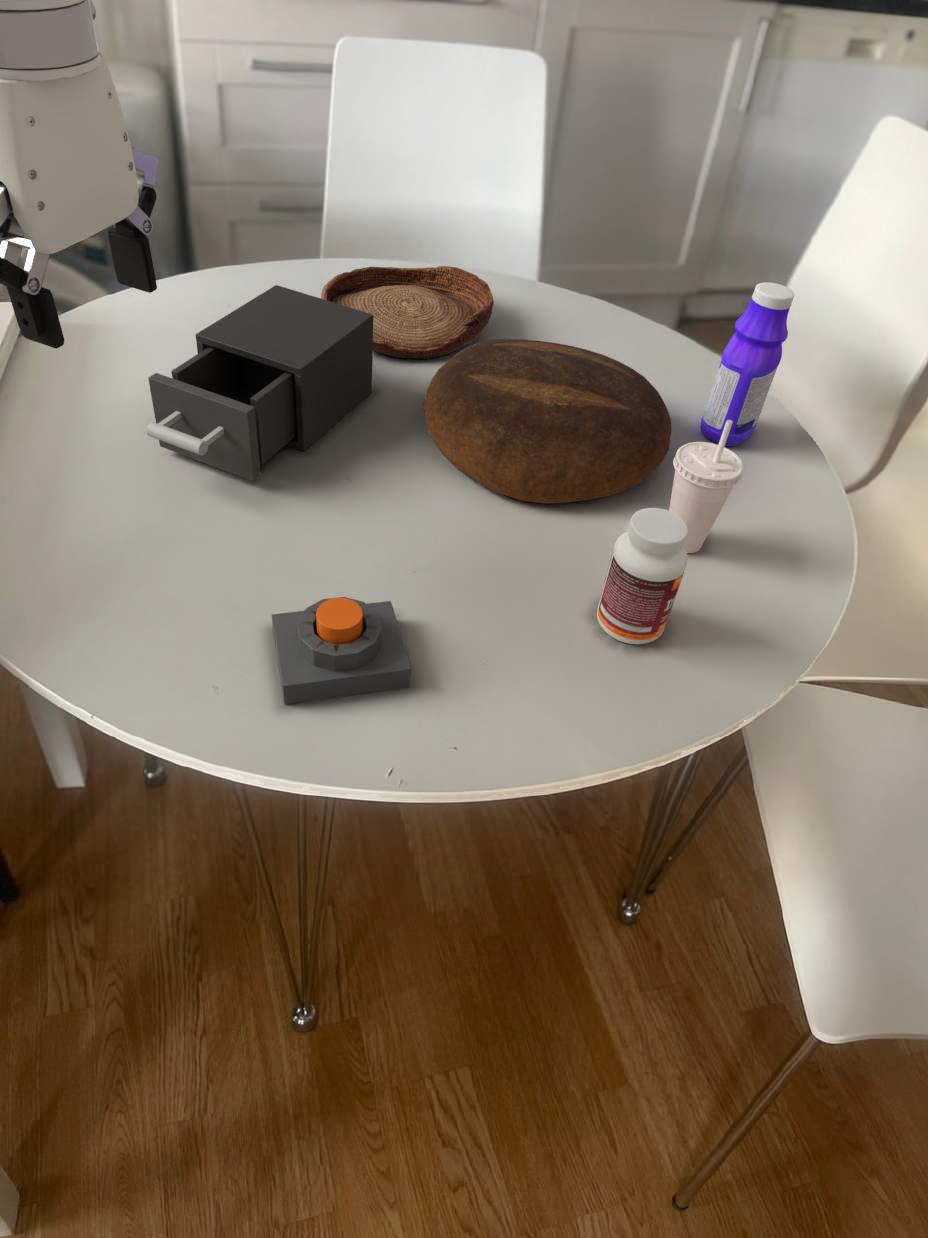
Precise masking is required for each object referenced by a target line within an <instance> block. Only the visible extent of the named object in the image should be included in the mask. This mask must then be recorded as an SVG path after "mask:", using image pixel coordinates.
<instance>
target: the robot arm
mask: <svg viewBox="0 0 928 1238" xmlns="http://www.w3.org/2000/svg"><path fill="white" fill-rule="evenodd" d="M96 12H97V11H96V7H95V5H94V3H93V1H92V0H0V241H1V243H0V286H4V287H5V288H6V290H7V292H8V293H7V294H8V296H9V298H10V302H11V306H12V309H13V313H14V316H15V319H16V322H17V326H18V328H19V330H20V333H21V335H22V336H23V338H25V339H26V340H29V341H32V342H35V343H38V344H41V345H43V346H47V347H50V348H53V349H59V348H61V347H63V346H64V345H65V337H64V332H63V330H62V326H61V321H60V317H59V314H58V310H57V307H56V304H55V303H56V302H55V299H54V295H53V293H52V290H51V289H49V288H45V287H43V283H44V279H45V275H46V272H47V268H48V264H49V260H50V257H51V255H52V254H56V253H59V252H60V251H63V250H66V249H68V248H69V247H71V246H73V245H76V244H78V243H80V242H82V241H85V240H86V239H88V238H90V237H92V236H94V235H96V234H98V233H101V232H102V231H104V230H106V229H107V234H108V235H107V238H108V242H109V248H110V251H111V257H112V261H113V267H114V273H115V275H116V280H117V282H118V283H119V284H120V285H121V286H126V287H130V288H133V289H136V290H139V291H142V292H146V293H149V294H152V293H153V292H155V291H156V290H157V289H158V284H157V279H156V273H155V267H154V263H153V257H152V251H151V246H150V240H149V237H148V236H150V235H151V234H152V233H153V230H154V222H153V221H152V219H151V216H152V213H153V210H154V208H155V204H156V201H157V191H156V190H155V187H156V186H157V185H156V184H157V177H158V170H159V159H158V157H157V156H156V155H154V154H151V153H148V152H146V151H143V150H140V149H138V148H135V147H132V145H131V140H130V138H129V133H128V129H127V125H126V121H125V117H124V113H123V109H122V106H121V103H120V99H119V96H118V93H117V90H116V87H115V84H114V81H113V78H112V75H111V71H110V69H109V65H108V64H107V61H106V58H105V56H104V54H103V53H102V52H100V50H99V45H98V40H97V34H96V28H95V23H94V21H95V19H96V17H97V16H96V15H97V13H96ZM112 226H113V227H112ZM110 227H111V228H110ZM25 235H26V236H27V235H28V237H25ZM23 251H27V256H26V260H25V263H24V268H22V267H20V266H19V263H20V259H21V255H22V252H23Z"/></svg>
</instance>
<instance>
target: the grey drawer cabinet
mask: <svg viewBox="0 0 928 1238" xmlns="http://www.w3.org/2000/svg"><path fill="white" fill-rule="evenodd" d="M195 341H196V342H195V343H196V350H197V354H199V353H200V352H202V351H203V350H205V349H206V348H208V347H210V346H212V347H215V348H218V349H221V350H224V351H227V352H230V353H233V354H236V355H239V356H242V357H245V358H248V359H251V360H254V361H257V362H260V363H263V364H266V365H269V366H272V367H275V368H278V369H281V370H284V371H287V372H290V373H293V374H295V391H296V412H297V433H298V435H297V436H295V437H294V438H293V439H292V440H291V441H289V442H288V443H287V444H286V445H285V446H288V447H291V448H293V449H297V450H299V451H302V452H305V451H306V450H308V449H309V448H310V447H311V446H313V445H314V444H315V443H316V442H317V441H318V440H320V438H322V437H323V435H325V434H326V433H327V432H328V431H330V430H331V429H332V428H333V427H334V426H335V425H336V424H338V423H339V422H340V421H341V420H342V419H343V418H345V417H346V416H347V415H348V414H349V413H350V412H352V410H354V409H355V408H356V407H357V406H358V405H359V404H361V403H362V402H363V401H365V399H367V397H368V396H370V395H371V394H372V393H373V359H374V355H373V354H374V351H373V314H370V313H366V312H363V311H360V310H357V309H353V308H350V307H347V306H344V305H340V304H337V303H334V302H330V301H327V300H324V299H321V297H317V296H314V295H310V294H308V293H304V292H301V291H297V290H294V289H292V288H288V287H285V286H281V285H278V284H275V285H274V286H272V287H271V288H269V289H267V290H265V291H264V292H262V293H261V294H259V295H257V296H256V297H254V298H252V299H251V300H249V301H247V302H246V303H244V304H243V305H241V306H239V307H238V308H236V309H234V310H232V311H231V312H229V313H228V314H226V315H225V316H223V317H222V318H219V319H218V320H217V321H215V322H213V323H212V324H210V325H209V326H207V327H205V328H204V329H202V330H200V331H198V332H197V333H195Z"/></svg>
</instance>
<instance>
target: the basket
mask: <svg viewBox="0 0 928 1238" xmlns="http://www.w3.org/2000/svg"><path fill="white" fill-rule="evenodd" d="M320 295H321V296H320V298H321V299H324V300H327V301H330V302H334V303H337V304H340V305H344V306H347V307H350V308H353V309H357V310H360V311H363V312H366V313H370V314H373V352H376V353H379V354H383V355H387V356H392V357H397V358H402V359H410V360H411V359H422V360H427V359H433V358H437V357H441V356H445V355H448V354H450V353H453V352H455V351H457V350H459V349H460V348H462V347H463V346H465V345H466V344H468V343H469V342H471V341H472V340H473V339H475V338H476V337H478V336H479V335H480V334H481V333H482V332H483V331H484V329H485V328H486V327H487V325H488V324H489V322H490V319H491V317H492V314H493V309H494V305H495V304H494V303H495V302H494V301H495V300H494V296H493V293H492V291H491V288H490V286H489V284H488V283H487V282H486V281H485V280H483V279H481V278H480V277H479V276H478V275H476V274H474V273H473V272H470V271H467V270H465V269H462V268H459V267H456V266H448V265H438V266H436V267H430V266H429V267H395V266H393V267H392V266H385V267H384V266H367V267H361V268H355V269H353V270H351V271H345V272H341V273H338V274H337V275H335V276H334V277H333V278H331V279H330V280H328V281H327V282H326V284H325V285H323V287H322V290H321V294H320Z"/></svg>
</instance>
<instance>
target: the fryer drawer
mask: <svg viewBox="0 0 928 1238" xmlns="http://www.w3.org/2000/svg"><path fill="white" fill-rule="evenodd" d="M170 372H171V377H169V376H166V375H164V374H161V373H158V372H155V373H153V374H152V375H150V376H148V378H147V379H148V380H147V381H148V384H149V385H148V386H149V390H150V396H151V402H152V409H153V414H154V419H155V421H151V422H150V423H148V424H147V427H146V435H147V436H148V437H151V438H153V439H155V440H158V442H159V443H158V444H159V446H160V447H161V448H164V449H166V450H169V451H172V452H174V453H176V454H180V455H182V456H186V457H188V458H190V459H192V460H195V461H197V462H201V463H203V464H206V465H209V466H211V467H214V468H217V469H220V470H222V471H224V472H227V473H230V474H233V475H235V476H238V477H241V478H244V479H247V480H249V481H252V482H255V481H256V480H257V479H258V478H259V477H260V476H261V465H264V464H265V463H266V462H267V461H268V460H270V459H271V458H272V457H273V456H274V455H275V454H277V453H278V452H279V451H280V450H282V449H283V448H284V447H285V446H287V445H286V444H287V443H288V442H289V441H291V440H292V439H293V438H294V437H295V436H297V435H298V433H297V412H296V391H295V374H293V373H290V372H287V371H284V370H281V369H278V368H275V367H272V366H269V365H266V364H263V363H260V362H257V361H254V360H251V359H248V358H245V357H242V356H239V355H236V354H233V353H230V352H227V351H224V350H221V349H218V348H215V347H212V346H210V347H208V348H206V349H205V350H203V351H202V352H200V353H199V354H198V353H197V354H195V355H194V356H192V357H191V358H189V359H188V360H186V361H185V362H183V363H181V364H180V365H178V366H176V367H175V368H173V369H172V370H171V371H170Z"/></svg>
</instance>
